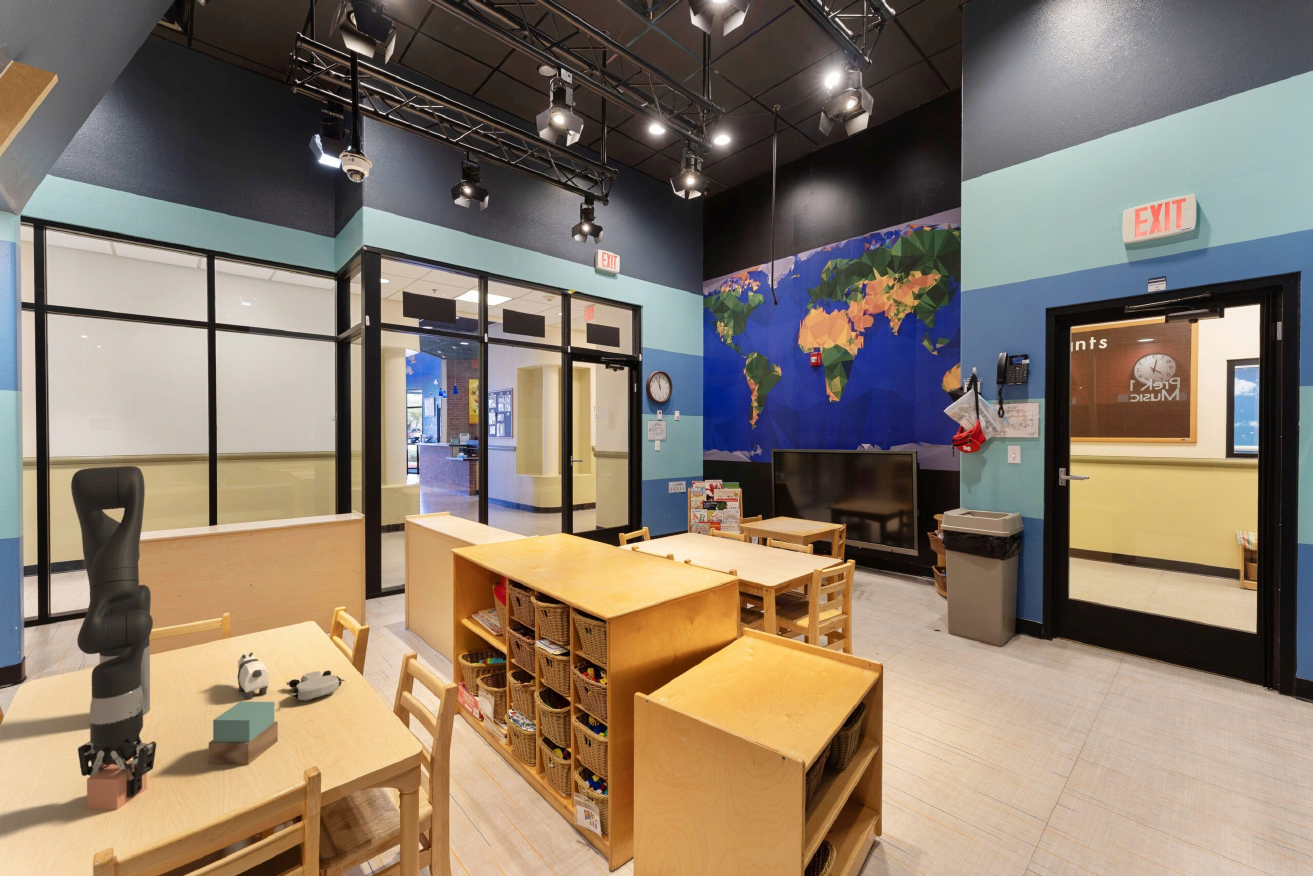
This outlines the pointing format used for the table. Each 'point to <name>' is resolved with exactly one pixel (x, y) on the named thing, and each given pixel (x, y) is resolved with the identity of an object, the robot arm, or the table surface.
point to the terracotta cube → (110, 788)
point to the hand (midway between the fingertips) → (117, 794)
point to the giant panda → (252, 676)
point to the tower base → (243, 748)
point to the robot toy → (314, 685)
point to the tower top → (243, 722)
